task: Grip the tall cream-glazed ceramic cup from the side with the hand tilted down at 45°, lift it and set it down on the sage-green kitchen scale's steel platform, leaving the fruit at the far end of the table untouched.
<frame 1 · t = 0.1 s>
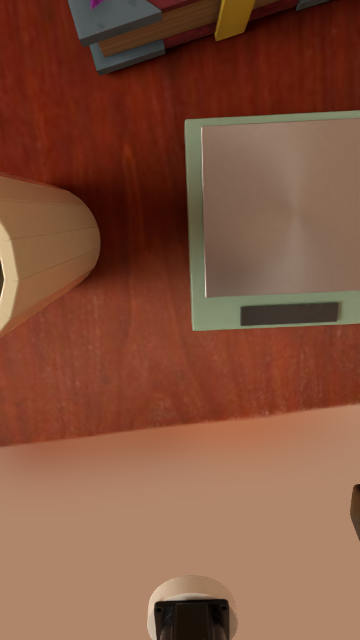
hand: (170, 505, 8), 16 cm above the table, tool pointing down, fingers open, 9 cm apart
cup: (49, 239, 22), on the table
scale: (281, 228, 22), on the table
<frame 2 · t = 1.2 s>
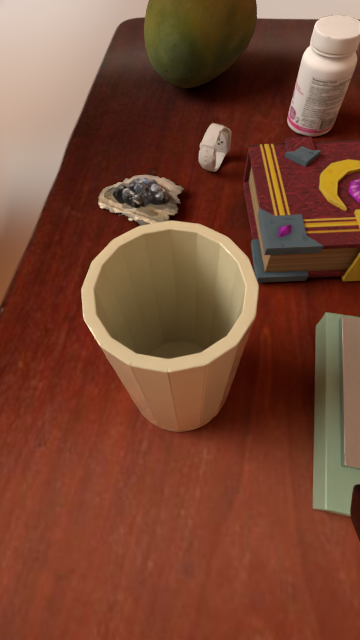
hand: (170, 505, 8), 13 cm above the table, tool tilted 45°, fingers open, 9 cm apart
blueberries: (139, 204, 32), on the table
pill bottle: (308, 125, 36), on the table
cup: (179, 382, 23), on the table
smartwatch: (213, 167, 34), on the table
decorative book: (340, 228, 29), on the table
fruit: (198, 79, 41), on the table
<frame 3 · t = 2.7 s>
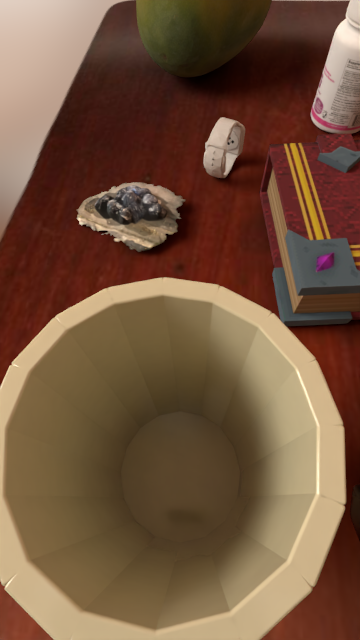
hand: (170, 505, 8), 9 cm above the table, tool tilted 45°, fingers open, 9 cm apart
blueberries: (128, 219, 25), on the table
pill bottle: (336, 121, 30), on the table
cup: (180, 472, 17), on the table
smartwatch: (221, 173, 27), on the table
fruit: (201, 68, 34), on the table
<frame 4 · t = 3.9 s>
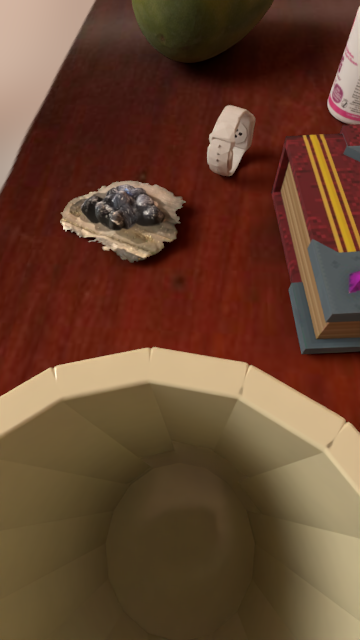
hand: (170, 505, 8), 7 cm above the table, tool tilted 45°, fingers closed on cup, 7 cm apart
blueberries: (120, 224, 22), on the table
pill bottle: (356, 112, 26), on the table
cup: (180, 541, 14), on the table, touching gripper
smartwatch: (226, 170, 24), on the table
fruit: (204, 53, 31), on the table
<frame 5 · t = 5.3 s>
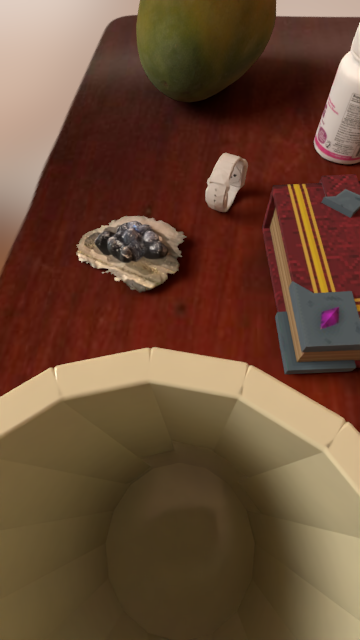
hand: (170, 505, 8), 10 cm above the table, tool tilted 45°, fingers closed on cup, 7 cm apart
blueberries: (129, 255, 25), on the table
pill bottle: (340, 149, 29), on the table
cup: (180, 541, 14), point 3 cm above the table, touching gripper
smartwatch: (222, 205, 27), on the table
fruit: (203, 90, 34), on the table
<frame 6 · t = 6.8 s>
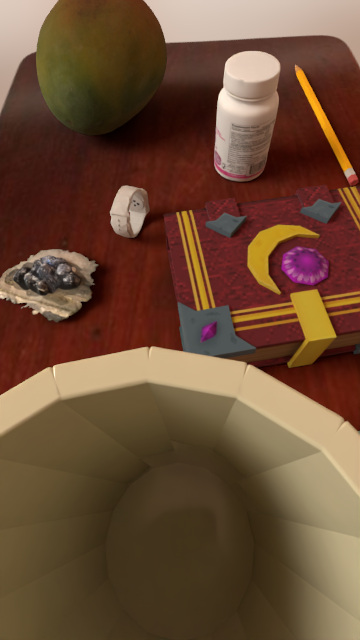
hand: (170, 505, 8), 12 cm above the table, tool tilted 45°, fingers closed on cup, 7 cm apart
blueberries: (48, 287, 27), on the table
pill bottle: (238, 167, 32), on the table
cup: (179, 541, 14), point 6 cm above the table, touching gripper
smartwatch: (133, 230, 29), on the table
decorative book: (281, 295, 26), on the table
fruit: (113, 120, 36), on the table
pencil: (319, 121, 35), on the table
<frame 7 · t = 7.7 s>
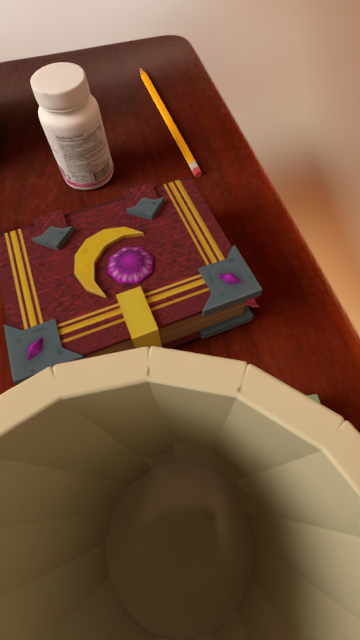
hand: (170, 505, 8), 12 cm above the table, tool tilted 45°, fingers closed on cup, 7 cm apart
pill bottle: (89, 175, 32), on the table
cup: (179, 540, 14), point 6 cm above the table, touching gripper
decorative book: (135, 295, 26), on the table
pencil: (166, 120, 36), on the table
when the fingers open (9 cm above the table, at t = 9.9 s): cup stays where it is, resting on scale.
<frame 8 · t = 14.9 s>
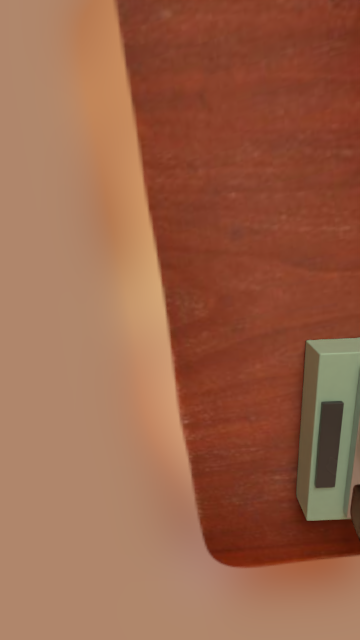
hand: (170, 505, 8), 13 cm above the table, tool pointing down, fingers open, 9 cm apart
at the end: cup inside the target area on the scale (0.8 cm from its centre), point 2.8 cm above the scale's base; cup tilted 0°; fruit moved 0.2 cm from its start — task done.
